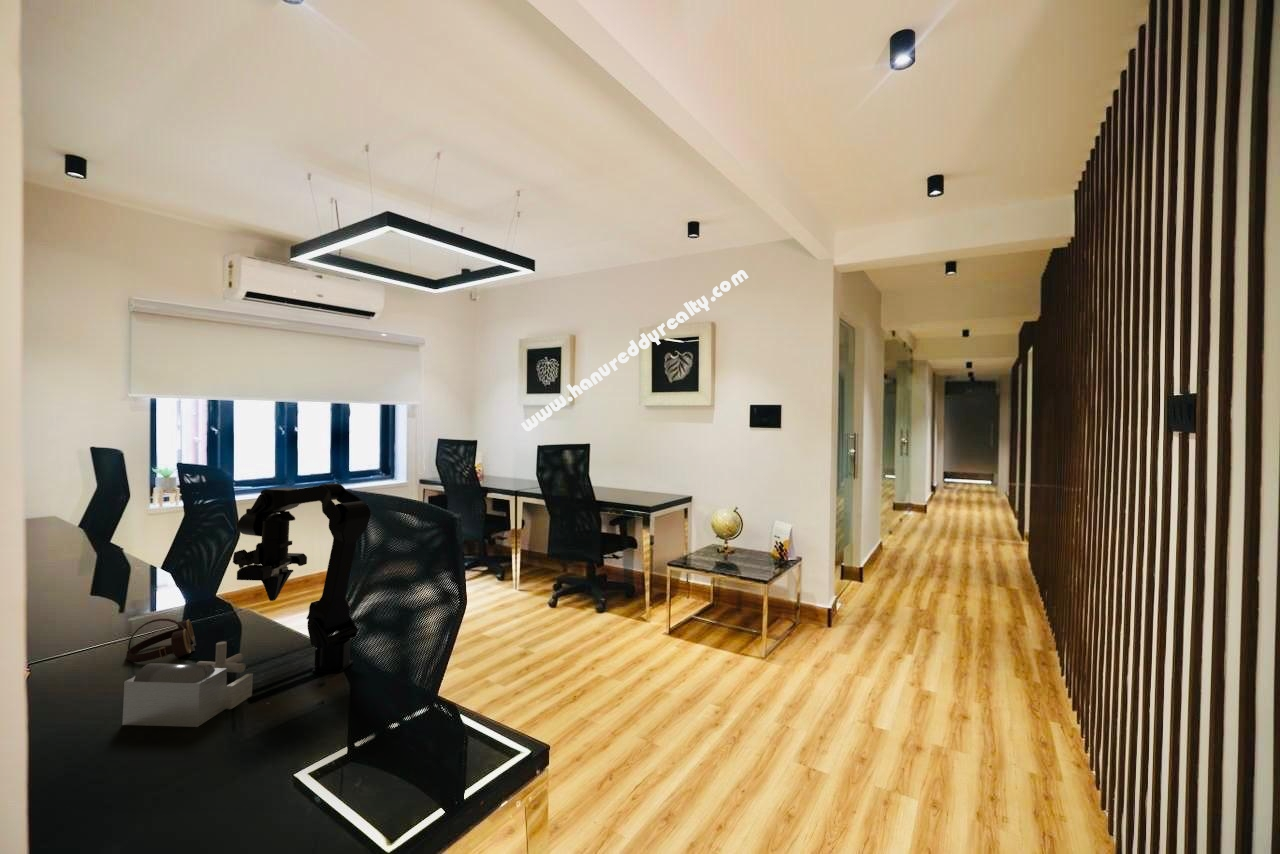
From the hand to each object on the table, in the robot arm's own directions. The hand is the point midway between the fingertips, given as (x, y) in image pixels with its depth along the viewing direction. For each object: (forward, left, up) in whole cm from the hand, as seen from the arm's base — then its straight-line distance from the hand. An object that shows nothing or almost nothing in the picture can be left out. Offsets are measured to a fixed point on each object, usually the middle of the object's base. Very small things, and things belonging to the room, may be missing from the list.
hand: (272, 600), depth 141 cm
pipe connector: (-3, +21, -13) cm, 25 cm away
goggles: (+25, +2, -13) cm, 29 cm away
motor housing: (-3, +29, -13) cm, 32 cm away
